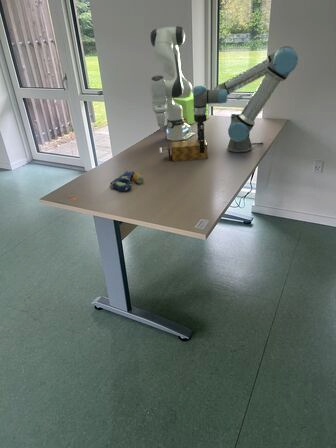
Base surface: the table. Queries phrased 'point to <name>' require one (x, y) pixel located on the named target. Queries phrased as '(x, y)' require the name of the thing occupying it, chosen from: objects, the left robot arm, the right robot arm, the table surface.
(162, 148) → the drawer
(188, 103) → the lime green box
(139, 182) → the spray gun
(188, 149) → the wicker basket box
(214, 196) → the table surface
